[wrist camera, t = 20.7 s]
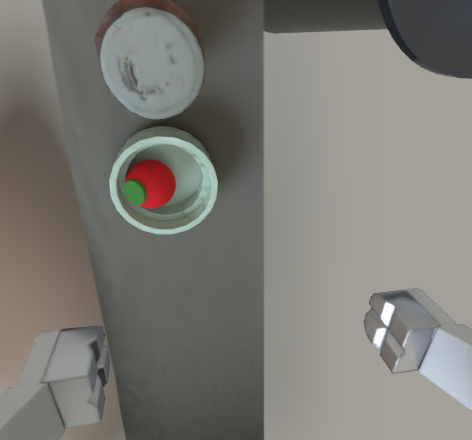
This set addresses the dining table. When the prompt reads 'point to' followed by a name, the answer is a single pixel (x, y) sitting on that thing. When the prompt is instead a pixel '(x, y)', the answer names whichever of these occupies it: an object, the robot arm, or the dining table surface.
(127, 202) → the bowl
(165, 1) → the sauce bottle
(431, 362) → the robot arm
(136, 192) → the tomato
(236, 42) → the dining table surface
